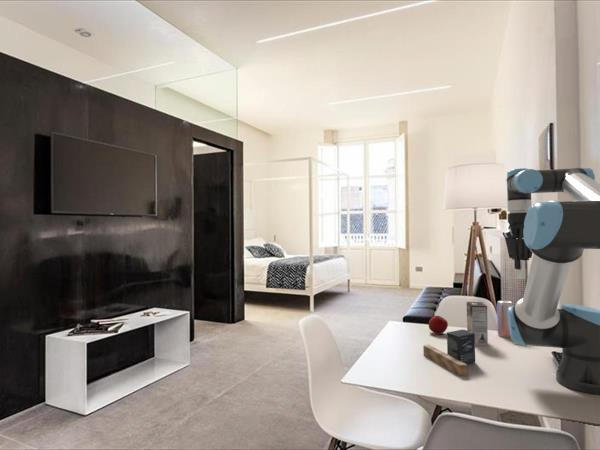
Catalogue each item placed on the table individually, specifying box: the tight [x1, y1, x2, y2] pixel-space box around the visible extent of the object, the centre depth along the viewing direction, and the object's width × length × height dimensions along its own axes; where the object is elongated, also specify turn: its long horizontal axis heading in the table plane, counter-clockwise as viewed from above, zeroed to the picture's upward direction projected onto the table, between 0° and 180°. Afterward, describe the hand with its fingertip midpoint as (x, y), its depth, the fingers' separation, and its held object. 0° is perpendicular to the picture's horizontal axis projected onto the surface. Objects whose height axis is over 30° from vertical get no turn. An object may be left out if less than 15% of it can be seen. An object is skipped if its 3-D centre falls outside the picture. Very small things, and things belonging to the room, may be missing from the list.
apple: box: [428, 315, 449, 335], centre depth 173 cm, size 8×8×8 cm
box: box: [446, 329, 476, 365], centre depth 135 cm, size 8×6×11 cm
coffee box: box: [466, 301, 489, 346], centre depth 159 cm, size 9×6×16 cm
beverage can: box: [496, 300, 513, 338], centre depth 168 cm, size 6×6×15 cm
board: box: [422, 344, 468, 377], centre depth 133 cm, size 22×2×4 cm, turn 13°
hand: (520, 278), depth 136 cm, fingers closed
